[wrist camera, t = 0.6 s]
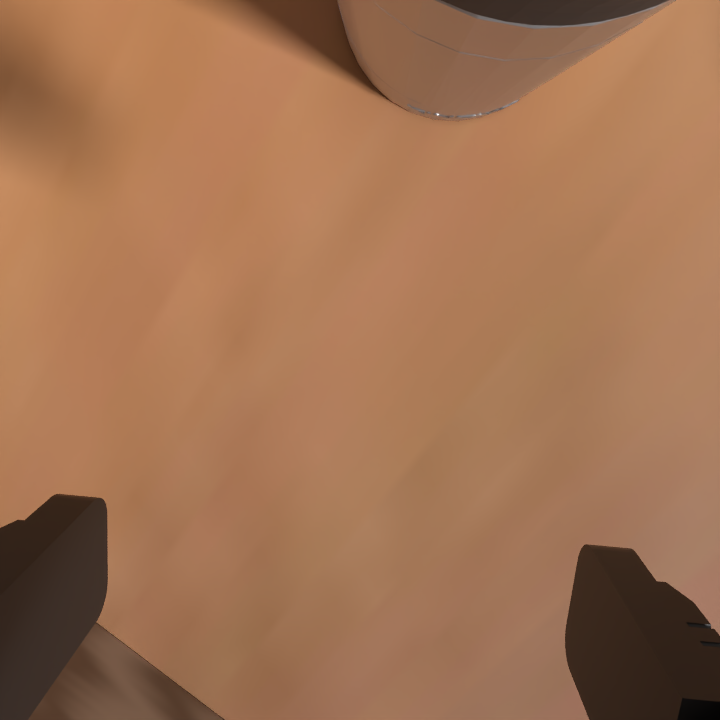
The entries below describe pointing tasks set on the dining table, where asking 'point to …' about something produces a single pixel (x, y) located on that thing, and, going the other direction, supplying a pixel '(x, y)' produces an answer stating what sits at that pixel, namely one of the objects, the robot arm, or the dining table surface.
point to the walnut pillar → (115, 687)
